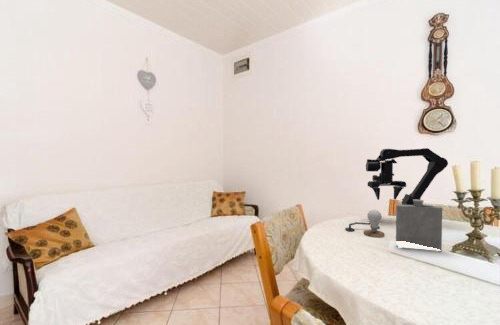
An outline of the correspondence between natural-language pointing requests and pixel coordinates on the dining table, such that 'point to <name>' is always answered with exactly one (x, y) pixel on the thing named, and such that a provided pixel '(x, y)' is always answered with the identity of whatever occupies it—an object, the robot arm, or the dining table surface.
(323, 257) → the dining table surface
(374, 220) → the lightbulb
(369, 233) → the walnut coaster
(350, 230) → the grey metal bracket
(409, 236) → the hip flask
